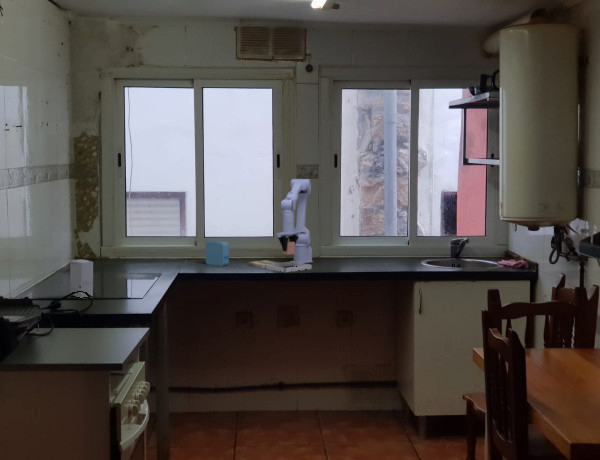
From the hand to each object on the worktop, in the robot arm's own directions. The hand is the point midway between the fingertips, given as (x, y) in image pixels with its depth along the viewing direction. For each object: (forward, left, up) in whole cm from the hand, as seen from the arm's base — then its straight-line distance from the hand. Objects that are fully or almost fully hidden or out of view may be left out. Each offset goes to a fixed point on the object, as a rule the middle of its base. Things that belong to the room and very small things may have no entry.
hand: (288, 250), depth 385 cm
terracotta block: (0, 0, -2) cm, 2 cm away
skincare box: (+111, +3, -9) cm, 111 cm away
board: (+2, -17, -9) cm, 19 cm away
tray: (0, 0, -9) cm, 9 cm away
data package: (+19, -35, -10) cm, 41 cm away
